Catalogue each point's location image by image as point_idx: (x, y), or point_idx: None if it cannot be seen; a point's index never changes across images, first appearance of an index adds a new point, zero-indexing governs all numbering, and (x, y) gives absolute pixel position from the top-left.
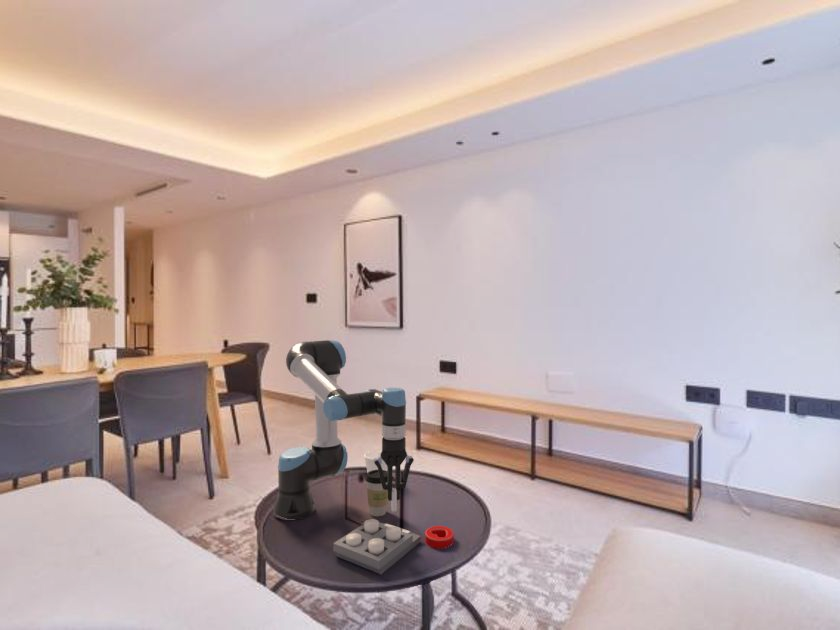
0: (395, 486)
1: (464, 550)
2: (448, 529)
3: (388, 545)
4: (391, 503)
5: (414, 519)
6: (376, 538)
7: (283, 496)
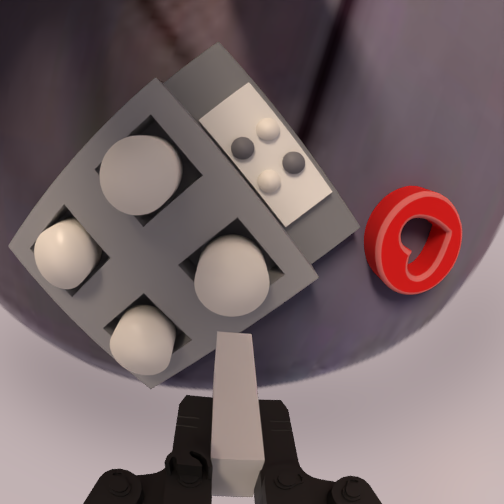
0: (261, 488)
1: (435, 306)
2: (456, 236)
3: (195, 323)
4: (213, 387)
5: (388, 49)
6: (141, 328)
7: None
